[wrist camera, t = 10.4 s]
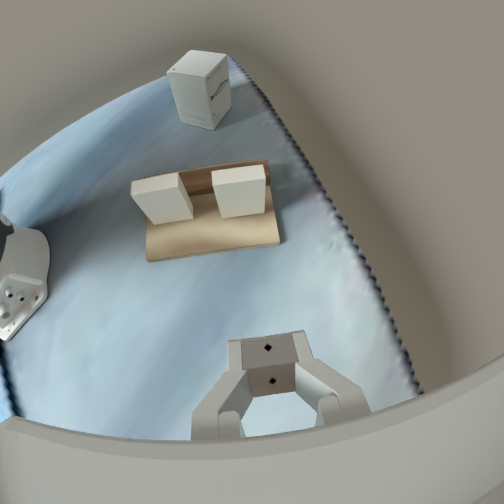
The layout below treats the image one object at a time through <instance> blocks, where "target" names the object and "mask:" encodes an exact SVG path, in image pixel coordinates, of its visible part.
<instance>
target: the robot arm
mask: <svg viewBox="0 0 504 504" xmlns="http://www.w3.org/2000/svg"><path fill="white" fill-rule="evenodd" d="M49 262H50V251H49V245H48V242H47V239H46V237H45V236H44V234H43V233H42V232H41V231H39V230H36V229H30V228H26V227H23V226H20V225H17V224H15V223H12V222H11V221H10V220H9V219H8V218H7V217H6V216H5V215H3V214H2V213H0V338H1V339H2V340H4V341H9V340H10V339H11V338H12V337H13V336H14V334H15V333H16V332H17V331H18V330H19V329H20V328H21V326H22V325H23V324H24V323H25V322H26V321H27V320H28V319H29V317H30V316H31V315H32V314H33V313H34V312H35V311H36V310H37V309H38V308H39V307H40V306H41V305H42V303H43V302H44V301H45V300H46V298H47V294H48V291H47V274H48V269H49ZM37 298H38V300H37ZM227 349H228V372H224V373H223V375H222V376H221V377H220V378H219V380H218V381H217V382H216V384H215V385H214V386H213V387H212V389H211V390H210V391H209V393H208V394H207V395H206V396H205V398H204V399H203V400H202V401H201V403H200V404H199V405H198V406H197V408H196V409H195V410H194V411H193V413H192V429H191V440H190V441H177V440H148V439H133V438H122V437H113V436H105V435H98V434H91V433H85V432H79V431H74V430H69V429H64V428H59V427H55V426H50V425H46V424H42V423H38V422H35V421H31V420H28V419H24V418H21V417H17V416H12V417H9V418H8V419H6V420H5V421H3V422H2V423H1V424H0V504H504V354H502V355H501V356H499V357H497V358H496V359H494V360H492V361H491V362H489V363H487V364H485V365H483V366H482V367H480V368H478V369H476V370H474V371H472V372H470V373H468V374H466V375H464V376H462V377H460V378H458V379H456V380H454V381H452V382H450V383H448V384H446V385H444V386H441V387H439V388H437V389H434V390H432V391H430V392H427V393H425V394H422V395H420V396H417V397H415V398H412V399H409V400H407V401H404V402H401V403H399V404H396V405H393V406H390V407H387V408H384V409H381V410H378V411H375V412H371V411H370V408H369V406H368V403H367V401H366V398H365V396H364V394H363V391H362V389H361V387H359V386H358V385H356V384H355V383H353V382H352V381H350V380H349V379H347V378H346V377H344V376H343V375H341V374H340V373H338V372H337V371H335V370H334V369H332V368H331V367H329V366H328V365H326V364H325V363H323V362H322V361H320V360H319V359H314V358H313V355H312V352H311V349H310V346H309V343H308V340H307V337H306V334H305V331H304V330H300V331H294V332H291V333H290V332H289V333H283V334H277V335H270V336H264V337H256V338H246V339H239V340H228V343H227ZM293 391H295V392H296V393H297V394H298V395H299V396H300V397H301V398H302V399H303V400H304V401H305V402H306V403H307V404H309V405H310V406H311V407H312V408H313V409H314V410H315V411H316V412H317V417H316V424H315V427H312V428H307V429H302V430H296V431H291V432H284V433H278V434H271V435H263V436H255V437H246V436H245V433H244V430H243V426H242V423H241V419H242V418H243V416H244V414H245V412H246V410H247V409H248V407H249V405H250V403H251V401H252V399H253V397H259V396H266V395H272V394H279V393H287V392H293Z"/></svg>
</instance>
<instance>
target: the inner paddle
mask: <svg viewBox="0 0 504 504" xmlns="http://www.w3.org/2000/svg"><path fill="white" fill-rule="evenodd" d="M131 197H132V198H133V199H134V201H135V202H136V203H137V204H138V206H139V207H140V208H141V209H142V211H143V212H144V213H145V214H146V215H147V217H148V218H149V219H150V220H151V222H152V223H153V224H154V225H156V224H163V223H169V222H175V221H181V220H188V219H194V215H193V205H192V203H191V201H190V198H189V196H188V194H187V192H186V189H185V187H184V185H183V183H182V180H181V178H180V176H179V174H178V172H177V173H171V174H166V175H161V176H156V177H151V178H146V179H141V180H136V181H132V183H131Z"/></svg>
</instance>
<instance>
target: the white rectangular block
mask: <svg viewBox="0 0 504 504" xmlns="http://www.w3.org/2000/svg"><path fill="white" fill-rule="evenodd" d="M211 172H212V185H213V189H214V193H215V196H216V200H217V203H218V207H219V210H220V214H221V217H222V219H223V218H230V217H237V216H245V215H252V214H260V213H264V211H265V185H266V178H265V172H264V167H263V164H262V165H254V166H245V167H238V168H230V169H223V170H216V171H211Z"/></svg>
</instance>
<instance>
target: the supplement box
mask: <svg viewBox="0 0 504 504" xmlns="http://www.w3.org/2000/svg"><path fill="white" fill-rule="evenodd" d="M167 76H168V80H169V83H170V86H171V90H172V93H173V97H174V100H175V103H176V106H177V110H178V113H179V116H180V119H181V122H183V123H187V124H191V125H195V126H198V127H202V128H206V129H209V130H215V128H216V127H217V125H218V123H219V122H220V121H221V119H222V118H223V117H224V115H225V114H226V113H227V111H228V110H229V109H230V108H231V106H232V103H231V92H230V82H229V72H228V62H227V55H226V54H219V53H213V52H205V51H195V50H190V51H189V52H188V53H187V54H185V55H184V56H183V57H182V58H181V59H180V60H179V61H178V62H177V63H176V64H175V65H174V66H172V67H171V68H170V69H169V70H168V71H167Z"/></svg>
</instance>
